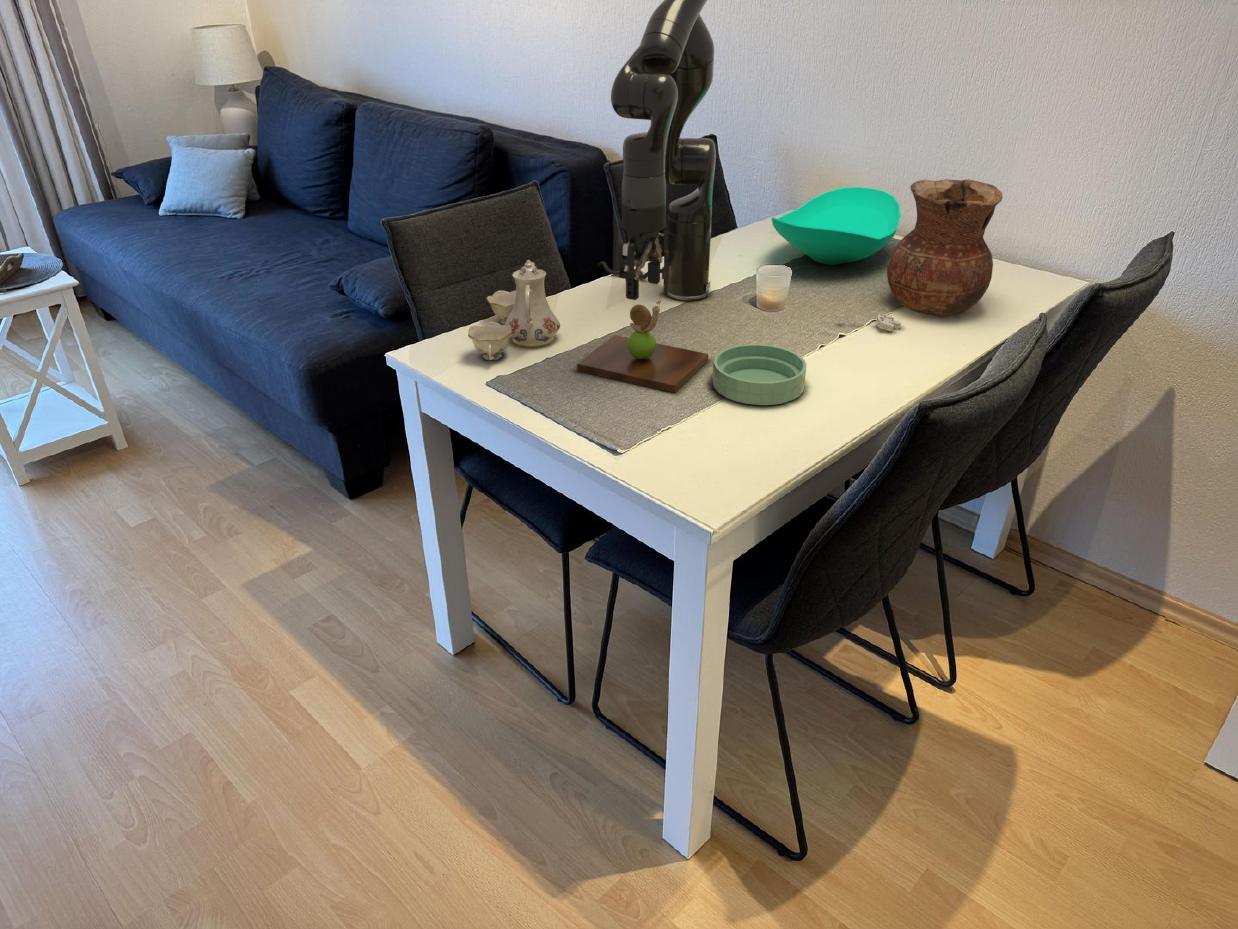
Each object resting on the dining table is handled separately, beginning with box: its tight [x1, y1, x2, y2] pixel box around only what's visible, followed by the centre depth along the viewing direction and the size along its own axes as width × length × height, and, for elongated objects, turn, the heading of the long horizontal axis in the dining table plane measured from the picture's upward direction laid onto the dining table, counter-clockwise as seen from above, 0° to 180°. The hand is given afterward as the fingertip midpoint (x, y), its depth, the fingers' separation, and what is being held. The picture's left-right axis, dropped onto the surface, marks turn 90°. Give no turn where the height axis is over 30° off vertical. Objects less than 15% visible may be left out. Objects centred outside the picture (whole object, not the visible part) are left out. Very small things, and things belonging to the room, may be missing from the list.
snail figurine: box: [627, 299, 662, 359], centre depth 161 cm, size 5×6×12 cm
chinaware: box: [467, 259, 561, 361], centre depth 172 cm, size 28×17×17 cm, turn 1°
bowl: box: [711, 343, 808, 406], centre depth 156 cm, size 16×16×4 cm
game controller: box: [840, 313, 902, 332], centre depth 178 cm, size 6×12×3 cm, turn 100°
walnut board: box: [576, 334, 709, 394], centre depth 164 cm, size 20×15×2 cm
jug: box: [886, 178, 1004, 317], centre depth 183 cm, size 22×21×25 cm
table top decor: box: [771, 186, 902, 266], centre depth 212 cm, size 40×28×13 cm
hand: (643, 290), depth 157 cm, fingers open, 8 cm apart
